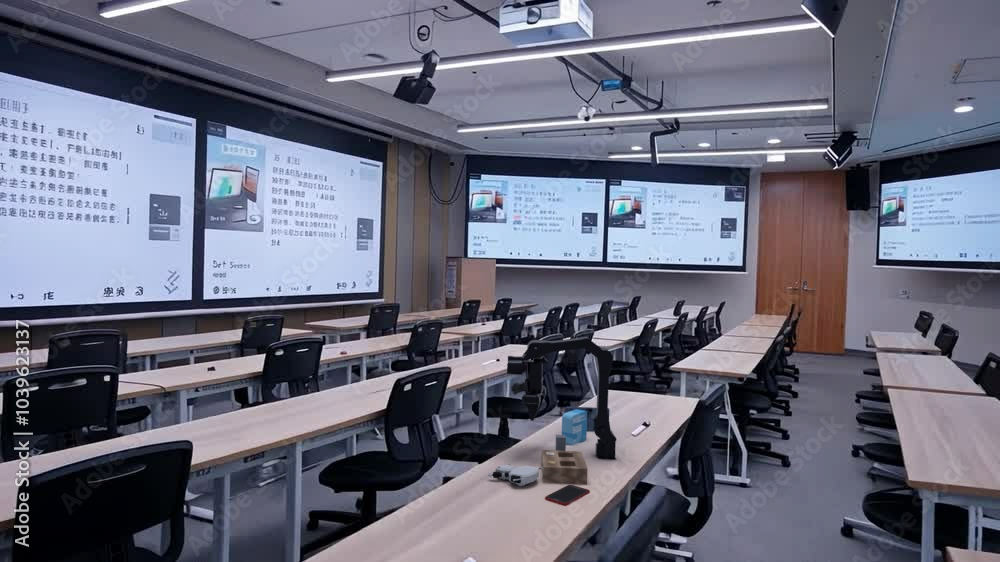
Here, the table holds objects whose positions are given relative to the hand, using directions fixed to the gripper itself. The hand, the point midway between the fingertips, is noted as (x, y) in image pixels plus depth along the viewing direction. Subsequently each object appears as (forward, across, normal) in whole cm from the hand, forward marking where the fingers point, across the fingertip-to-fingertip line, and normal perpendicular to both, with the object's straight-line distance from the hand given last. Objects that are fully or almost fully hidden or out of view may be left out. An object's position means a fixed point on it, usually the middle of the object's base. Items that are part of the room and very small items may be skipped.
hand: (534, 417), depth 219 cm
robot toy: (+14, +27, -2) cm, 31 cm away
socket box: (+14, +16, +13) cm, 25 cm away
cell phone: (+15, +35, +16) cm, 41 cm away
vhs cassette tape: (+15, -39, +17) cm, 45 cm away
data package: (+14, -21, +13) cm, 29 cm away
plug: (+14, +2, +10) cm, 17 cm away
